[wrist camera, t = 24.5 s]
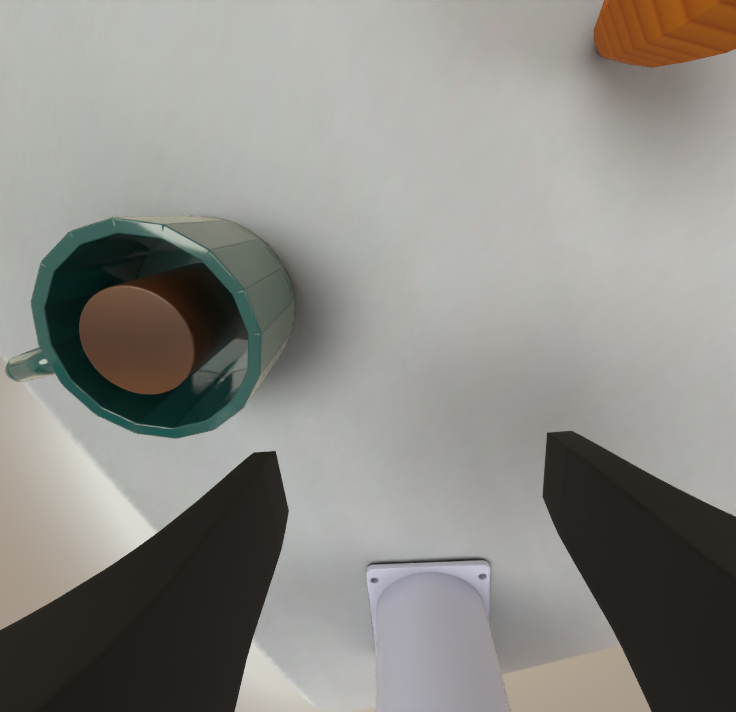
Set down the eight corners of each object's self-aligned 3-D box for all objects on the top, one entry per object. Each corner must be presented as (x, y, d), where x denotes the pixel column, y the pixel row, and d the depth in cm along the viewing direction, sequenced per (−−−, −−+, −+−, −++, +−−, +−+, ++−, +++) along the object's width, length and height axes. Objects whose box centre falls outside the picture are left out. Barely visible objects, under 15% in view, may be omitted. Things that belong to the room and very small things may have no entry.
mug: (261, 195, 18) (205, 187, 12) (316, 356, 20) (291, 412, 15) (51, 259, 19) (-87, 280, 13) (129, 402, 22) (41, 470, 16)
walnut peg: (257, 339, 19) (206, 391, 14) (180, 345, 20) (101, 398, 14) (240, 258, 18) (177, 280, 12) (159, 266, 18) (60, 290, 13)
